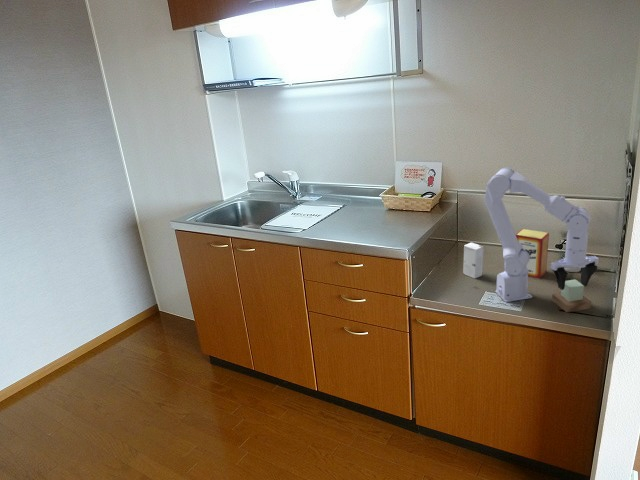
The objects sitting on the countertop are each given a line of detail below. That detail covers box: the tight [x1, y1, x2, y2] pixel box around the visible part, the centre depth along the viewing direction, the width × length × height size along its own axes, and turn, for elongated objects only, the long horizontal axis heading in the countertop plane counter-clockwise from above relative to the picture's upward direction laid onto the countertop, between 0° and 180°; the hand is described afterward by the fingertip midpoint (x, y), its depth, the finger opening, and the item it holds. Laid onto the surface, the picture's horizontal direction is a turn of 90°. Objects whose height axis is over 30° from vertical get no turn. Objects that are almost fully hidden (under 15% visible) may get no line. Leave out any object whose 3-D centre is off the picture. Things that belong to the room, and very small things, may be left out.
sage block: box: [560, 279, 585, 301], centre depth 148 cm, size 4×4×5 cm
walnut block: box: [551, 291, 592, 313], centre depth 150 cm, size 8×8×3 cm
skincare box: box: [462, 242, 484, 279], centre depth 175 cm, size 6×4×12 cm
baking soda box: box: [515, 228, 550, 279], centre depth 170 cm, size 10×6×16 cm
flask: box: [564, 267, 581, 273], centre depth 171 cm, size 7×7×10 cm
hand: (572, 286), depth 148 cm, fingers open, 7 cm apart
